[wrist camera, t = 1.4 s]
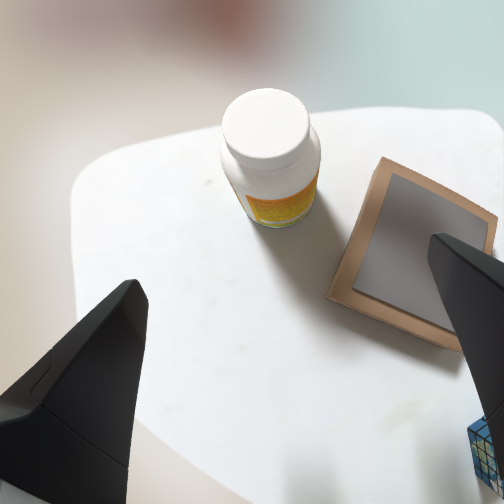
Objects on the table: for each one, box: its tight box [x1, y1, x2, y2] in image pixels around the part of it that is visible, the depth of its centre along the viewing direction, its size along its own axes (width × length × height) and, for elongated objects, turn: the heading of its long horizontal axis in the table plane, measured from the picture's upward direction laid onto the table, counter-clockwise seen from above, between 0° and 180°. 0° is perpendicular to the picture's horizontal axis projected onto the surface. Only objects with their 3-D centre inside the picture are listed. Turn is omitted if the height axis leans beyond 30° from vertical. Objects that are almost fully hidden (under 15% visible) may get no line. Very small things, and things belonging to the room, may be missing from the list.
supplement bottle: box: [220, 89, 321, 228], centre depth 18 cm, size 5×5×10 cm
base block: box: [326, 157, 498, 352], centre depth 19 cm, size 10×10×3 cm
